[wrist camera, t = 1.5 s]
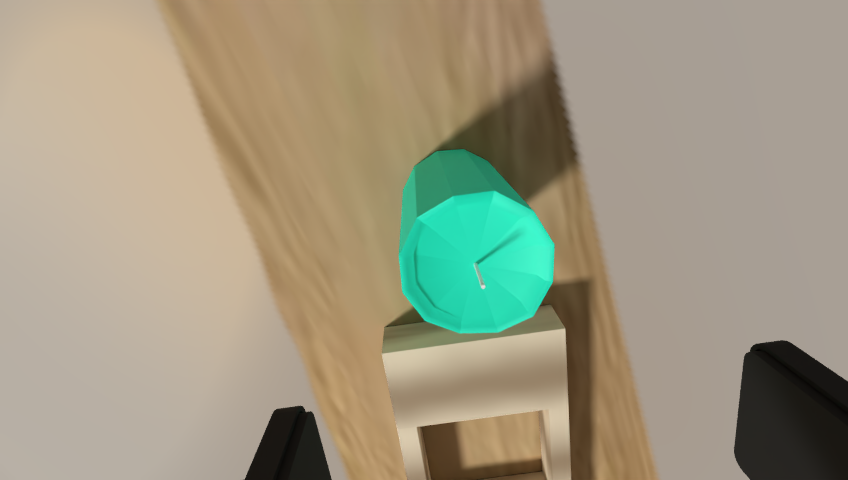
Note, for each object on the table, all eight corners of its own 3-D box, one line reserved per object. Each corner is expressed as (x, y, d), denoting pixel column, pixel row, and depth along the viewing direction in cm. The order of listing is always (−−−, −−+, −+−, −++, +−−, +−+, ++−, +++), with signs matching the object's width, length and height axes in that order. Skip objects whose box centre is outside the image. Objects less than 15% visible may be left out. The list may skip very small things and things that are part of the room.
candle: (523, 193, 27) (605, 277, 16) (455, 264, 28) (486, 388, 17) (448, 126, 25) (479, 165, 14) (381, 204, 27) (360, 296, 16)
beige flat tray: (384, 327, 30) (381, 353, 27) (550, 304, 29) (565, 328, 27) (426, 540, 36) (427, 579, 34) (561, 523, 36) (574, 560, 33)
